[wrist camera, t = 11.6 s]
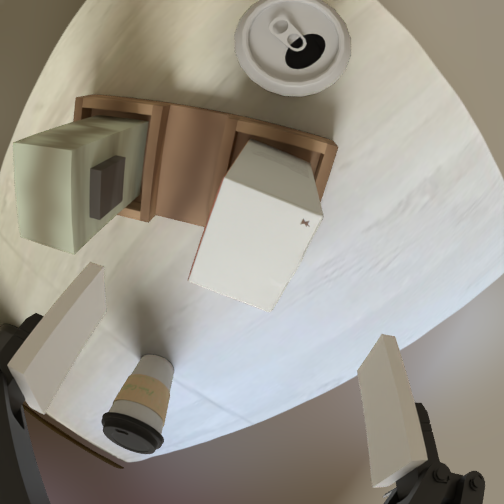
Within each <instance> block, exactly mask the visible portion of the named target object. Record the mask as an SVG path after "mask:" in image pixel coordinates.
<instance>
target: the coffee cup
mask: <svg viewBox="0 0 504 504" xmlns="http://www.w3.org/2000/svg"><path fill="white" fill-rule="evenodd" d="M173 374H174V369H173V366H172V365H171V363H170V362H169V361H168V360H166V359H165V358H163V357H161V356H157V355H151V354H149V355H144V356H143V357H142V358H141V360H140V361H139V363H138V364H137V366H136V368H135V369H134V371H133V372H132V374H131V375H130V376H129V377H128V379H127V380H126V382H125V384H124V385H123V387H122V388H121V390H120V392H119V393H118V395H117V397H116V398H115V400H114V402H113V405H112V407H111V409H110V410H109V412H107V413H105V414H103V416H102V418H103V419H102V425H103V432H104V434H105V435H106V437H107V438H109V439H110V440H111V441H112V442H114V443H115V444H117V445H119V446H121V447H123V448H125V449H127V450H130V451H133V452H137V453H141V454H152V453H154V452H155V450H156V449H158V448H160V447H161V446H162V444H163V442H164V439H163V437H162V435H161V433H162V428H163V426H164V423H165V418H166V413H167V408H168V403H169V398H170V389H171V384H172V379H173Z"/></svg>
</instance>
